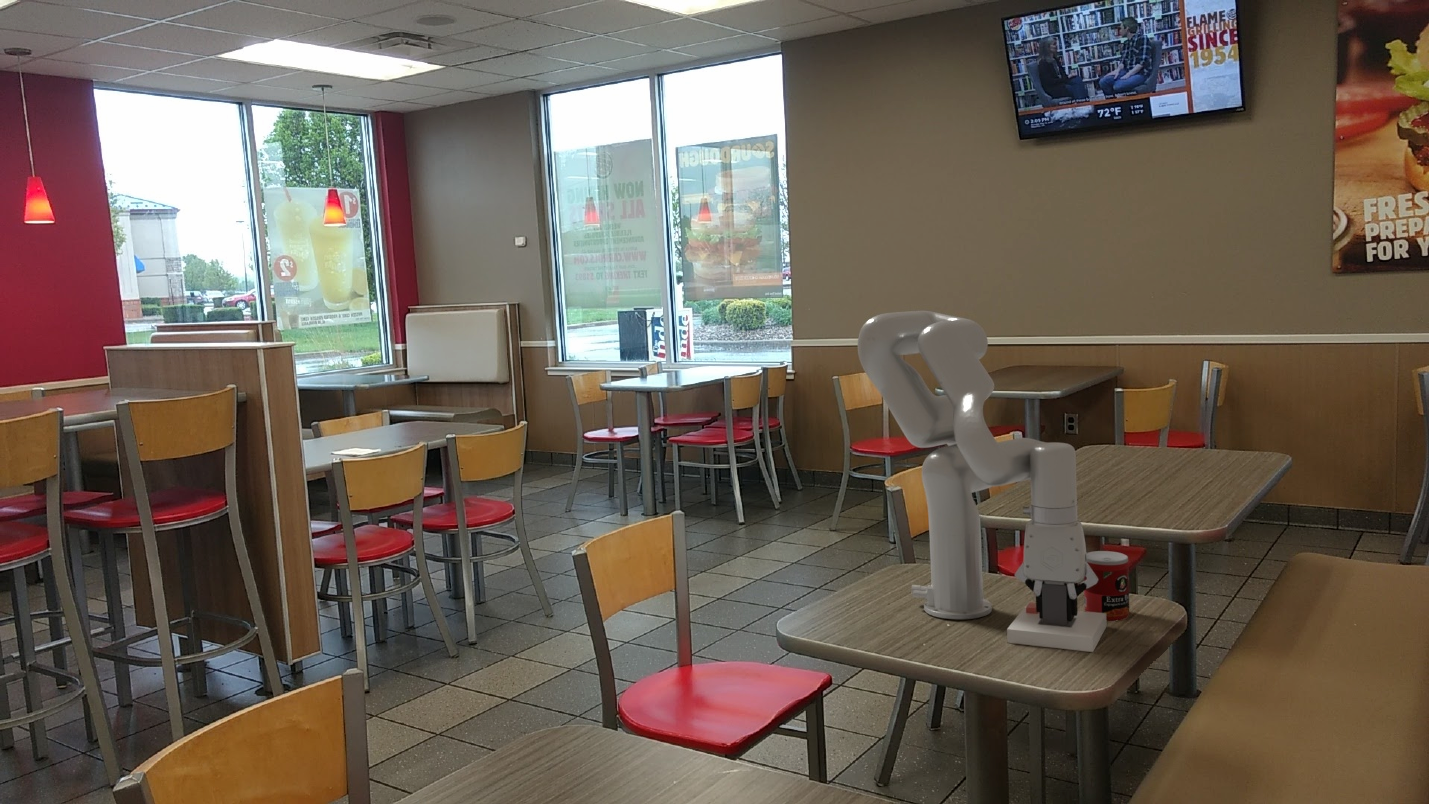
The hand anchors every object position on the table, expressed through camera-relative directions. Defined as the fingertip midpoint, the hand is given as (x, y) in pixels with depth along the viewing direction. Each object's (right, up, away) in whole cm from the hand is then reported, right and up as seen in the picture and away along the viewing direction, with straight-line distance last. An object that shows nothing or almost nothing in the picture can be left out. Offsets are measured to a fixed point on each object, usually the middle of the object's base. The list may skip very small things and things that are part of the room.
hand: (1056, 616), depth 181 cm
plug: (0, -1, 0) cm, 1 cm away
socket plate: (0, -3, 0) cm, 3 cm away
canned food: (+12, -2, +9) cm, 16 cm away
